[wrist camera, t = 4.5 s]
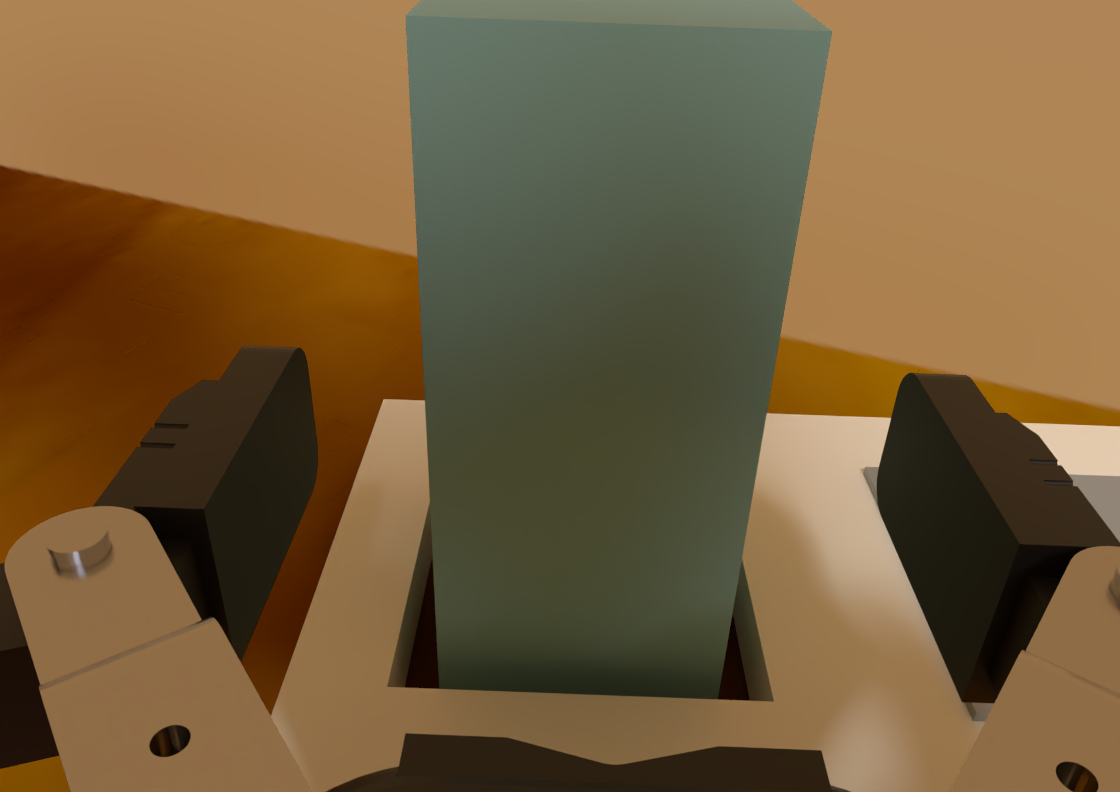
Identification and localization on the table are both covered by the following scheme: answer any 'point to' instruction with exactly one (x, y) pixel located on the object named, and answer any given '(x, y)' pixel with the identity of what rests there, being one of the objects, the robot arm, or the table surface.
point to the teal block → (601, 323)
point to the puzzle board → (759, 615)
